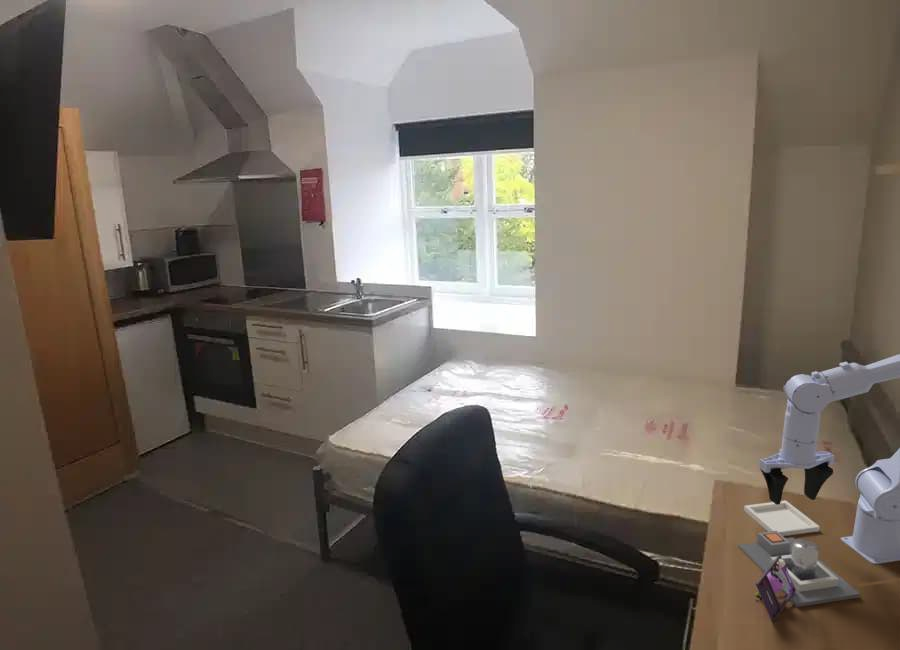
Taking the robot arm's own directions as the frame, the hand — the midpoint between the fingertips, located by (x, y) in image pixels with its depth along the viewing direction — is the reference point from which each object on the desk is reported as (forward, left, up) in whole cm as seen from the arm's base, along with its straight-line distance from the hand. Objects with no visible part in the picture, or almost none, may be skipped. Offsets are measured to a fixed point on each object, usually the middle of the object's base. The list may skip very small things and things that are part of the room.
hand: (792, 499), depth 115 cm
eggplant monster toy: (+14, +15, -9) cm, 22 cm away
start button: (+5, +2, -8) cm, 10 cm away
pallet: (+5, +9, -9) cm, 14 cm away
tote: (-3, -6, -9) cm, 12 cm away
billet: (+5, +10, -9) cm, 14 cm away
